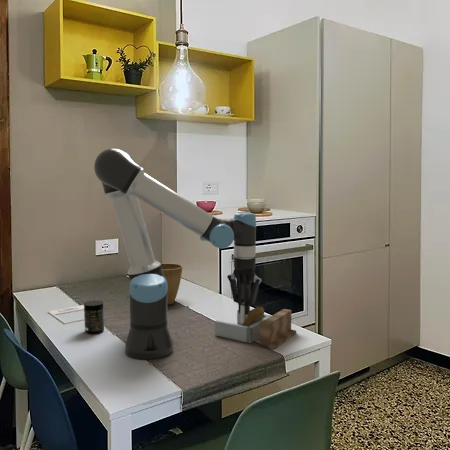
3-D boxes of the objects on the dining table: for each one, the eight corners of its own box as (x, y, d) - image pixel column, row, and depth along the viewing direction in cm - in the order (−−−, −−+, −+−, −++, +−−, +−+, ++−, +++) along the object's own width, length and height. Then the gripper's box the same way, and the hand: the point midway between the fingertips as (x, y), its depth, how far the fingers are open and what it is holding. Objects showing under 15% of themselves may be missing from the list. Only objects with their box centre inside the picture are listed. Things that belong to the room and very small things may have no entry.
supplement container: (108, 331, 168) (107, 302, 166) (92, 336, 162) (91, 306, 161) (96, 327, 172) (96, 299, 171) (80, 331, 167) (79, 303, 165)
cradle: (250, 343, 156) (250, 328, 156) (215, 335, 164) (215, 321, 163) (272, 329, 170) (272, 315, 170) (238, 322, 178) (238, 309, 177)
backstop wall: (273, 349, 151) (274, 325, 150) (259, 346, 154) (260, 322, 153) (296, 333, 166) (296, 311, 165) (283, 330, 169) (283, 308, 168)
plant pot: (189, 302, 203) (189, 266, 201) (161, 309, 193) (161, 271, 191) (168, 296, 214) (168, 261, 212) (141, 302, 204) (140, 265, 202)
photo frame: (83, 304, 198) (101, 314, 184) (83, 307, 198) (101, 317, 184) (47, 310, 188) (64, 322, 175) (47, 313, 189) (64, 325, 175)
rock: (243, 335, 158) (269, 329, 162) (237, 310, 161) (263, 305, 164) (233, 340, 168) (258, 335, 171) (227, 316, 170) (252, 311, 174)
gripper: (266, 257, 164) (265, 323, 167) (234, 253, 171) (233, 316, 173) (256, 260, 157) (255, 329, 160) (223, 256, 164) (222, 322, 167)
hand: (244, 322), depth 167 cm, fingers closed
